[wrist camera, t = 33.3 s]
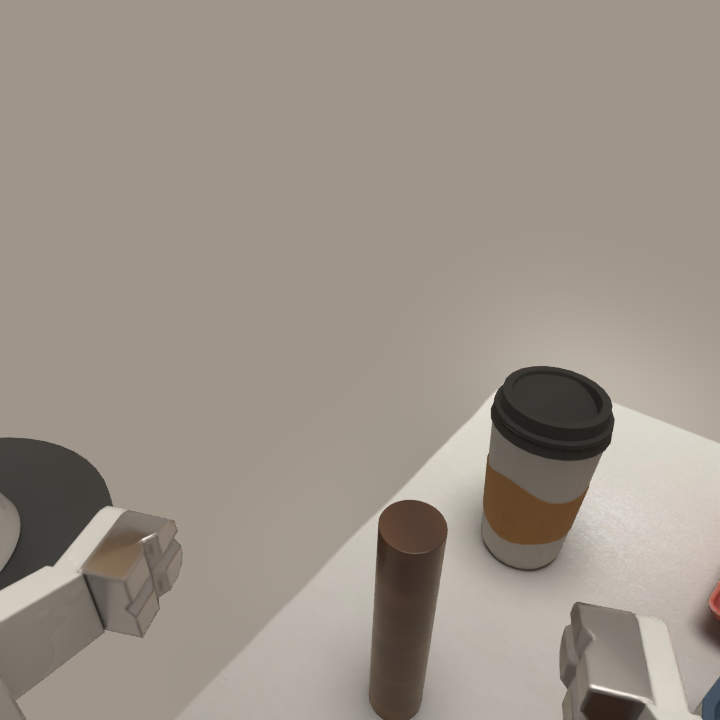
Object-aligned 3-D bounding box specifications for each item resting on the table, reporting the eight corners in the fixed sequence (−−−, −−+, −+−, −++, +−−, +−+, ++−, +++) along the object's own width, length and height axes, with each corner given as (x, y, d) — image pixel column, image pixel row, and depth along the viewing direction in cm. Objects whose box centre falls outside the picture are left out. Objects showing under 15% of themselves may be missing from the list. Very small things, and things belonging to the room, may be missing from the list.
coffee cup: (590, 543, 47) (643, 398, 39) (533, 603, 42) (580, 452, 34) (507, 488, 52) (538, 350, 44) (448, 536, 47) (470, 390, 39)
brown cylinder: (377, 729, 35) (390, 560, 26) (362, 675, 37) (370, 506, 29) (429, 714, 35) (458, 545, 27) (411, 662, 38) (432, 494, 29)
